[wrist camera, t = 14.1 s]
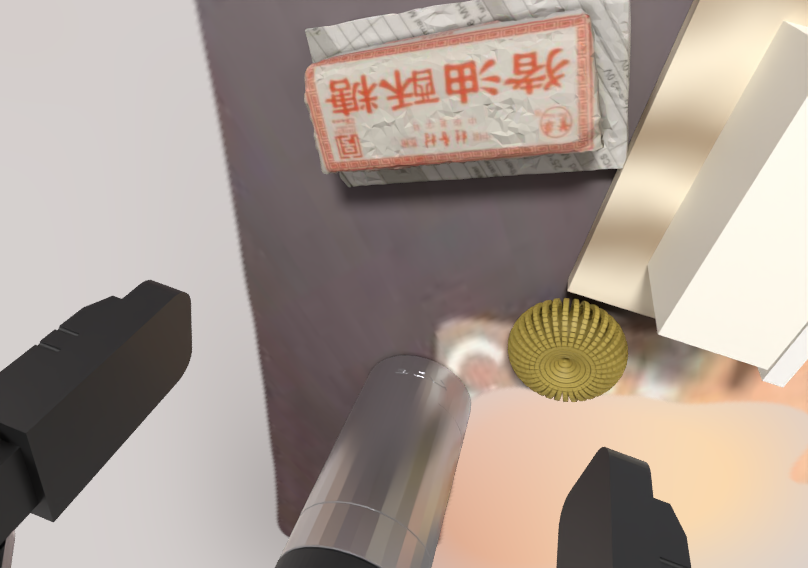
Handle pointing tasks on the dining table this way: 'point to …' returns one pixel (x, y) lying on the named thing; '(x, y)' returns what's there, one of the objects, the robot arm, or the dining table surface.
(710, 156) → the carton
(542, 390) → the sculpture
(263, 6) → the dining table surface
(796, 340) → the rail
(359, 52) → the packaged product
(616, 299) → the shelf board
